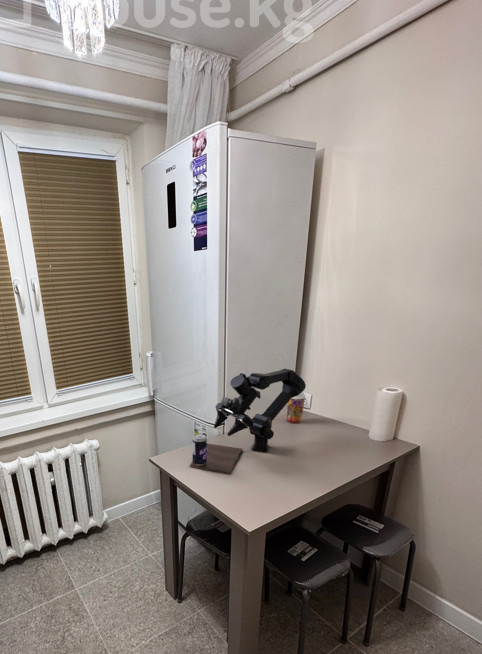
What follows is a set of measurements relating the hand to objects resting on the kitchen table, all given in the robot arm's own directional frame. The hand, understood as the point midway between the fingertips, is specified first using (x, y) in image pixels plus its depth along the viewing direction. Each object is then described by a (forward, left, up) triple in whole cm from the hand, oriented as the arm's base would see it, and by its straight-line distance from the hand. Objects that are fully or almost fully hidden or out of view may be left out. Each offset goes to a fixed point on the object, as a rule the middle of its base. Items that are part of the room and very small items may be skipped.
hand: (221, 431), depth 143 cm
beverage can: (+6, -7, -13) cm, 16 cm away
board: (-2, -2, -14) cm, 14 cm away
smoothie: (-56, +23, -14) cm, 62 cm away
